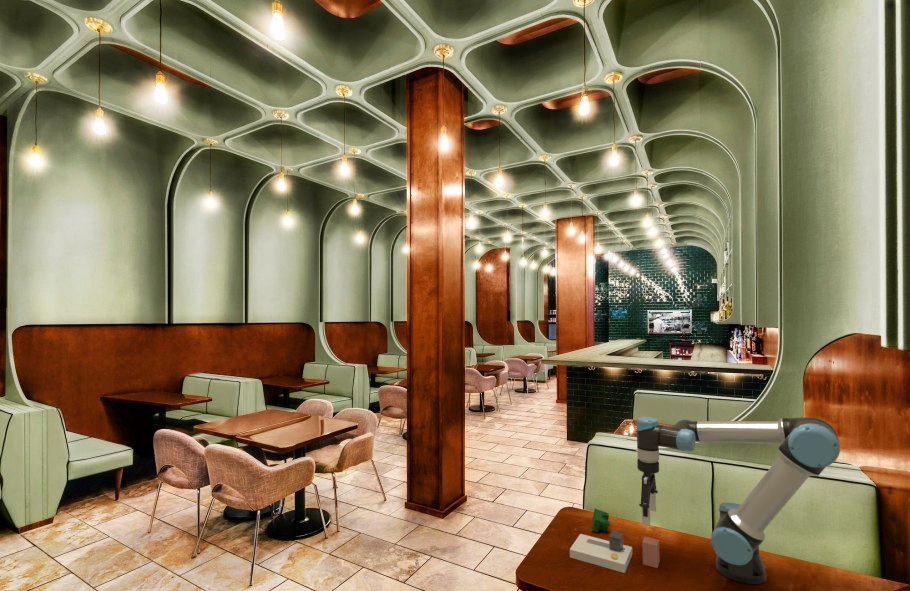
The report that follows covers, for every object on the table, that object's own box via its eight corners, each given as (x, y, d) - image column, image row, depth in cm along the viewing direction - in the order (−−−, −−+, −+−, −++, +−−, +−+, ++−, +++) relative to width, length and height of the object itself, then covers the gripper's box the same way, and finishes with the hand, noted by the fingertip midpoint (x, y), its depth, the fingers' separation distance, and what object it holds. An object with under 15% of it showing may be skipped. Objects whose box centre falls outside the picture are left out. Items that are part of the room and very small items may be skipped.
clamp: (604, 543, 187) (609, 528, 183) (590, 537, 189) (595, 522, 185) (606, 520, 197) (610, 506, 194) (592, 515, 199) (597, 501, 196)
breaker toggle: (623, 545, 170) (622, 533, 170) (620, 551, 166) (620, 539, 166) (612, 543, 172) (612, 530, 172) (609, 548, 168) (609, 536, 168)
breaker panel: (632, 555, 169) (632, 544, 170) (624, 573, 158) (624, 561, 158) (580, 541, 180) (580, 531, 180) (569, 557, 168) (569, 546, 168)
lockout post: (659, 561, 165) (658, 539, 165) (657, 568, 160) (657, 545, 161) (645, 557, 167) (644, 536, 168) (642, 564, 163) (642, 542, 164)
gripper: (643, 449, 178) (644, 502, 177) (630, 467, 157) (632, 528, 156) (663, 452, 174) (664, 507, 173) (653, 471, 153) (655, 534, 152)
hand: (649, 517), depth 165 cm, fingers open, 13 cm apart
